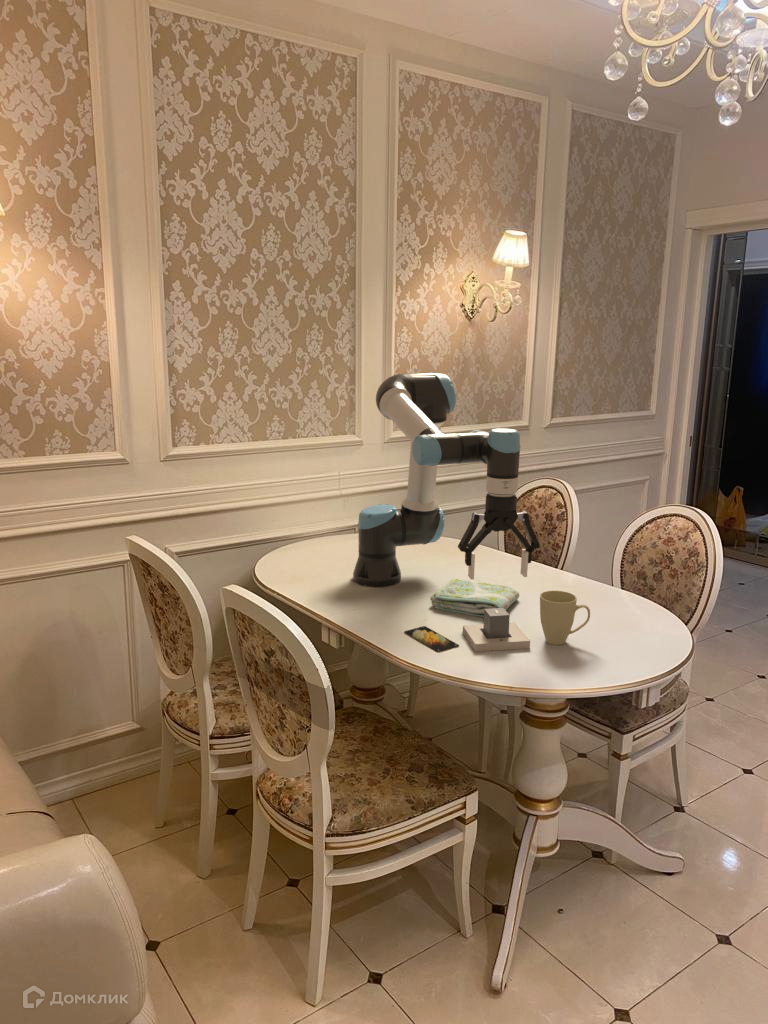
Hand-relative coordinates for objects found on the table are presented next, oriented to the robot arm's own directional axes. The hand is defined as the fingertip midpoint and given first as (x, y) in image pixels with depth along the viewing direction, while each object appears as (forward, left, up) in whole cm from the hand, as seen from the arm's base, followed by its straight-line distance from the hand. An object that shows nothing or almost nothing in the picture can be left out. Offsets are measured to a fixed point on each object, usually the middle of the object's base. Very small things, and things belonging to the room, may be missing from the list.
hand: (497, 576), depth 185 cm
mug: (+3, +16, -17) cm, 24 cm away
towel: (-26, +2, -18) cm, 31 cm away
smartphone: (-3, -16, -18) cm, 24 cm away
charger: (0, 0, -17) cm, 17 cm away
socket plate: (0, 0, -17) cm, 17 cm away
